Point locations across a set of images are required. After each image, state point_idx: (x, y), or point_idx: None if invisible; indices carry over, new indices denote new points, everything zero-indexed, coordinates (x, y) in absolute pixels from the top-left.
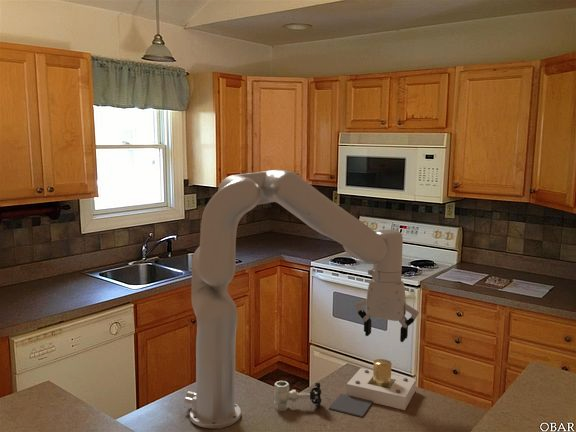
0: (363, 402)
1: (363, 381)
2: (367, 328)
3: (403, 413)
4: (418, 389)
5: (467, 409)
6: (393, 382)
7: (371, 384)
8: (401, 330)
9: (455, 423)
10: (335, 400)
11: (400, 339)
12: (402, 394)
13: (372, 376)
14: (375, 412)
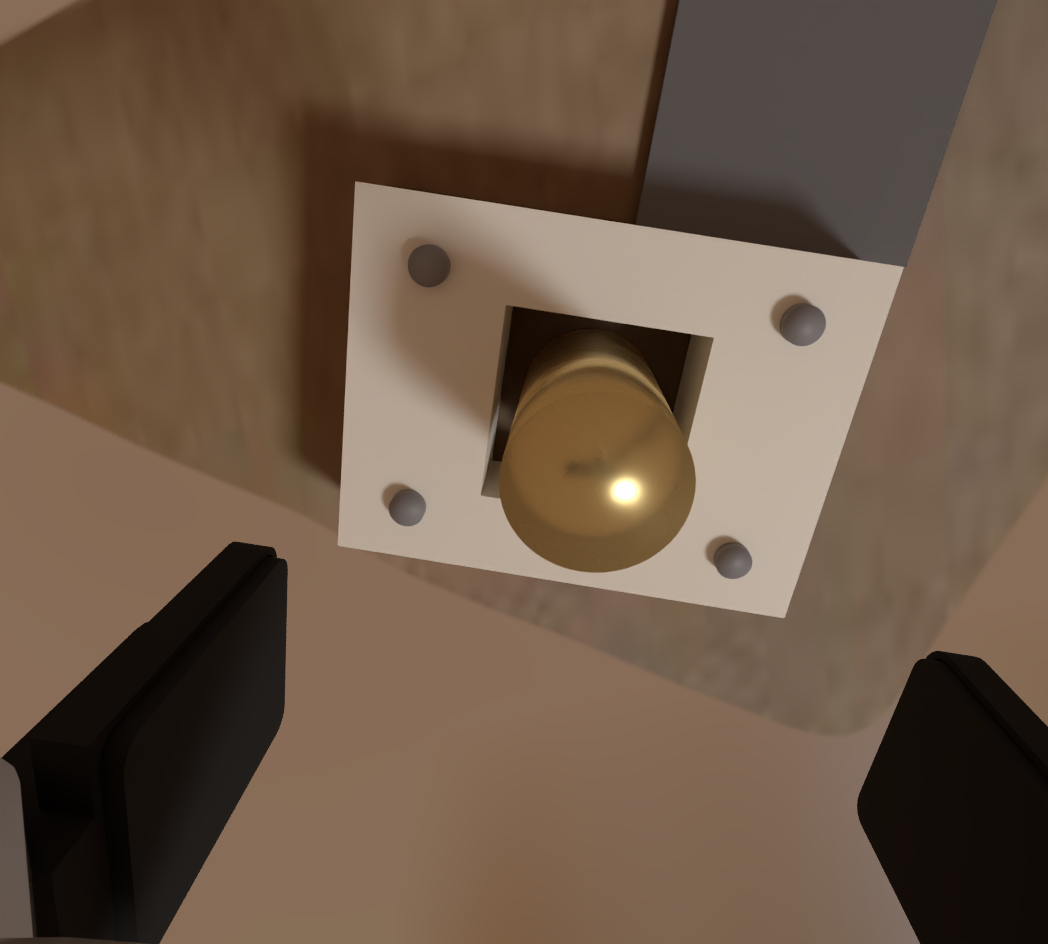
0: (710, 166)
1: (747, 371)
2: (1035, 771)
3: (387, 125)
4: None
5: (5, 361)
6: None
7: None
8: (126, 686)
9: (17, 110)
10: (955, 112)
11: (265, 573)
12: (388, 229)
13: None
14: (598, 51)
